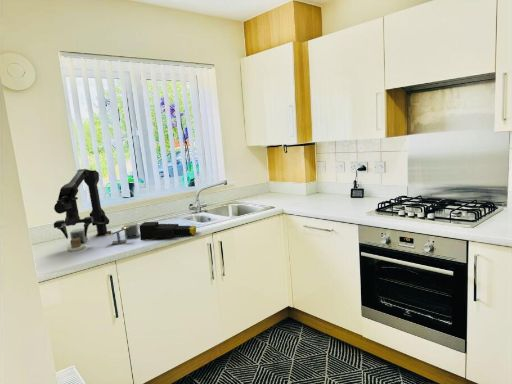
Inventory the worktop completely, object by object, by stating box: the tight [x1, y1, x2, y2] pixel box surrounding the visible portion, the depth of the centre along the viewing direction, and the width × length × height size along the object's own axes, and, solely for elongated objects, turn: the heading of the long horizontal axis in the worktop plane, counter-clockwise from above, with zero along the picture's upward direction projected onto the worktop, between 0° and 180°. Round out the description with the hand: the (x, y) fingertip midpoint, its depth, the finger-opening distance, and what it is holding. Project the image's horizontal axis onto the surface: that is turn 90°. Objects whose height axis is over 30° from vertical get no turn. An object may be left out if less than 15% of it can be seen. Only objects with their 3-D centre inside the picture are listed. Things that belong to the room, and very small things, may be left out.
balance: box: [104, 226, 130, 246], centre depth 201 cm, size 5×13×8 cm, turn 104°
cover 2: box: [123, 222, 140, 240], centre depth 213 cm, size 7×7×7 cm
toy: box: [139, 221, 197, 241], centre depth 207 cm, size 16×8×30 cm
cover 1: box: [69, 227, 89, 244], centre depth 209 cm, size 7×7×7 cm
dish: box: [66, 243, 87, 252], centre depth 197 cm, size 9×9×1 cm
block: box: [69, 238, 82, 248], centre depth 197 cm, size 4×4×4 cm
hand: (76, 237), depth 198 cm, fingers open, 9 cm apart
